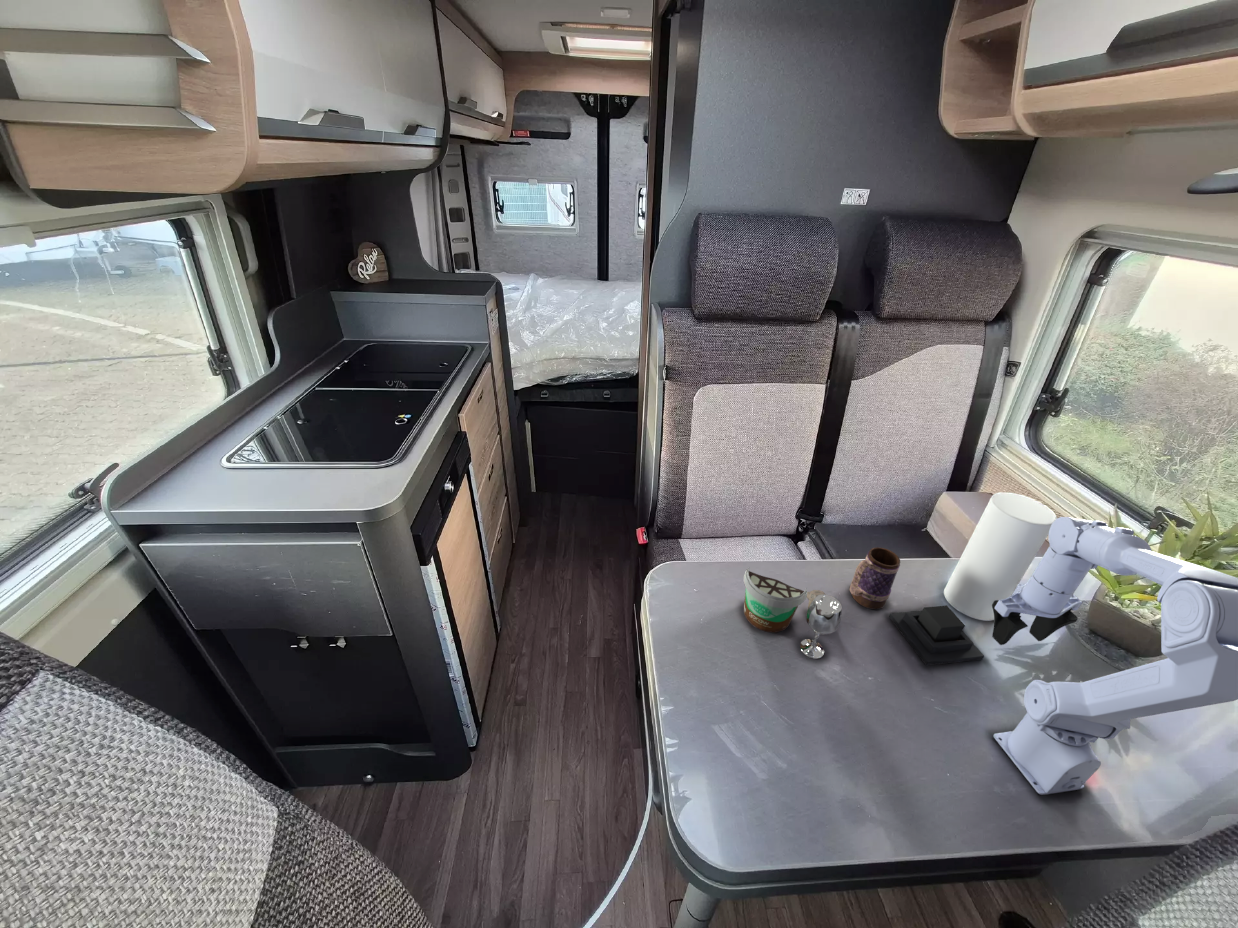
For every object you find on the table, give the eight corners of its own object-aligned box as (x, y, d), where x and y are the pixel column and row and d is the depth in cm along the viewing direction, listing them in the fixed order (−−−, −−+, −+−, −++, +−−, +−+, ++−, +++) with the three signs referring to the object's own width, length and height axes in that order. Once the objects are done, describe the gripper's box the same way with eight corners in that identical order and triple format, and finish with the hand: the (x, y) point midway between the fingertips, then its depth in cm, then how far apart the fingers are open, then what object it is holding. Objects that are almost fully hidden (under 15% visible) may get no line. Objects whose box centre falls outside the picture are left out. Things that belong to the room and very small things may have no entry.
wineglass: (807, 664, 97) (823, 618, 91) (790, 639, 102) (805, 594, 95) (833, 658, 98) (851, 613, 92) (816, 634, 103) (832, 589, 97)
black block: (956, 641, 102) (965, 625, 99) (932, 644, 101) (941, 627, 99) (938, 621, 106) (947, 605, 104) (915, 623, 105) (923, 607, 103)
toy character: (816, 611, 111) (816, 584, 110) (840, 627, 103) (840, 599, 103) (799, 614, 110) (799, 587, 109) (822, 630, 102) (822, 601, 102)
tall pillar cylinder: (940, 578, 119) (985, 486, 106) (993, 592, 116) (1047, 499, 103) (948, 611, 110) (998, 515, 97) (1005, 626, 107) (1065, 530, 94)
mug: (868, 582, 116) (885, 540, 110) (893, 605, 111) (912, 562, 105) (831, 593, 113) (847, 551, 107) (855, 617, 107) (873, 574, 101)
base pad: (982, 659, 100) (988, 649, 98) (926, 665, 98) (931, 655, 97) (940, 611, 110) (945, 602, 109) (888, 616, 108) (893, 606, 107)
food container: (728, 621, 105) (737, 584, 100) (737, 601, 109) (746, 565, 104) (791, 646, 100) (803, 609, 95) (797, 625, 105) (809, 588, 100)
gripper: (1070, 562, 90) (1033, 617, 97) (996, 567, 88) (964, 624, 95) (1108, 591, 84) (1066, 648, 91) (1030, 598, 82) (993, 656, 89)
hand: (1016, 638), depth 93 cm, fingers open, 7 cm apart
